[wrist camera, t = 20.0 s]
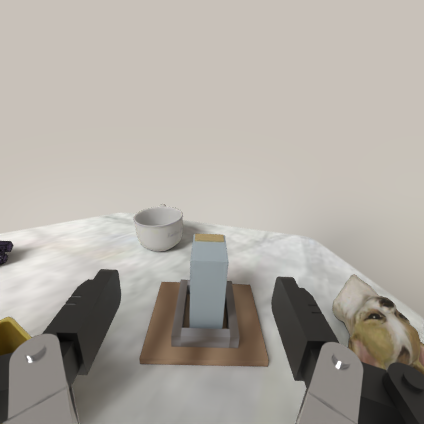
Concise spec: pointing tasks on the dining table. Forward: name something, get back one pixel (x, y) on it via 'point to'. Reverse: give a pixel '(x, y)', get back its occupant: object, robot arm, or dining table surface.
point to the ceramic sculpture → (377, 327)
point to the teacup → (159, 227)
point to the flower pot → (11, 336)
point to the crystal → (5, 250)
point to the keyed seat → (204, 331)
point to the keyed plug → (208, 281)
